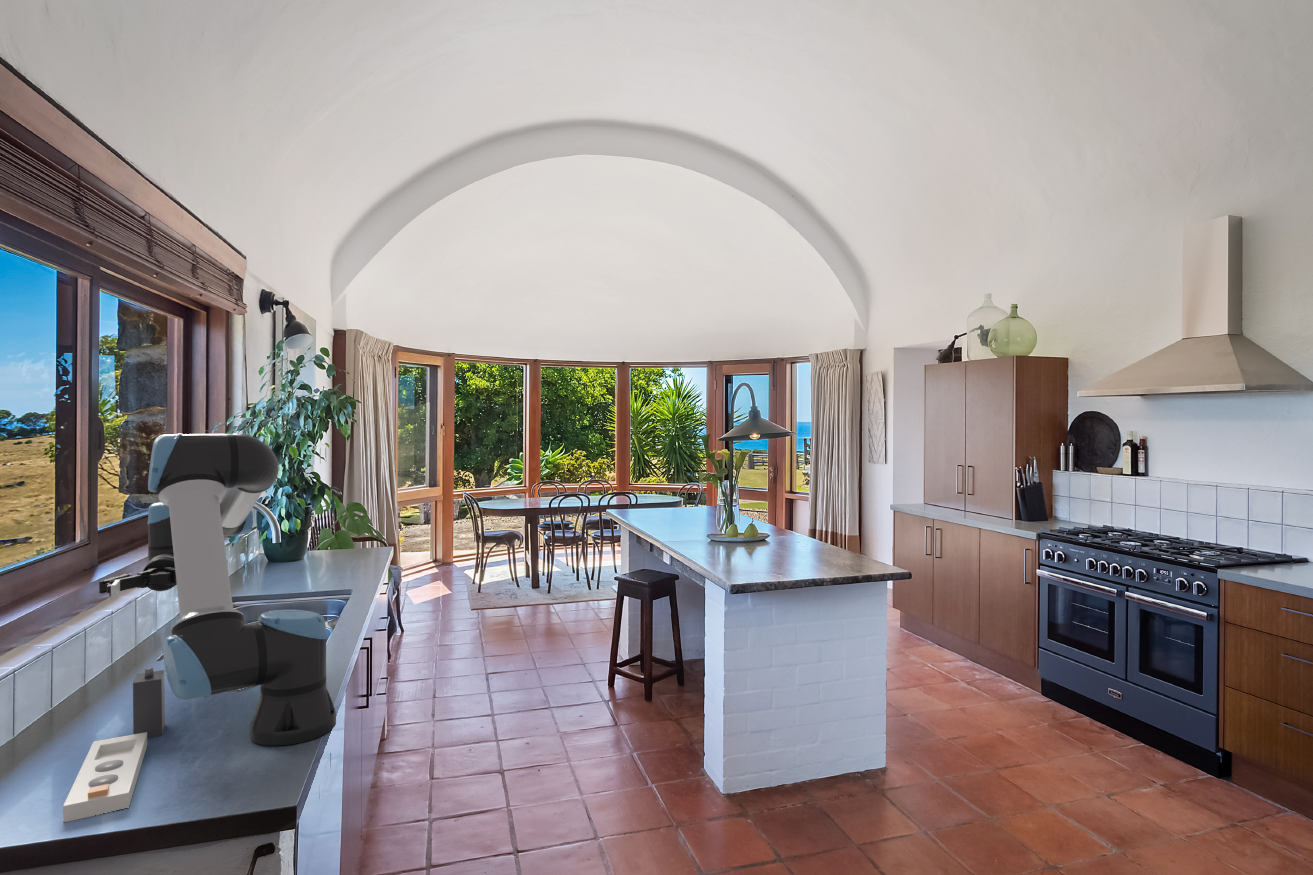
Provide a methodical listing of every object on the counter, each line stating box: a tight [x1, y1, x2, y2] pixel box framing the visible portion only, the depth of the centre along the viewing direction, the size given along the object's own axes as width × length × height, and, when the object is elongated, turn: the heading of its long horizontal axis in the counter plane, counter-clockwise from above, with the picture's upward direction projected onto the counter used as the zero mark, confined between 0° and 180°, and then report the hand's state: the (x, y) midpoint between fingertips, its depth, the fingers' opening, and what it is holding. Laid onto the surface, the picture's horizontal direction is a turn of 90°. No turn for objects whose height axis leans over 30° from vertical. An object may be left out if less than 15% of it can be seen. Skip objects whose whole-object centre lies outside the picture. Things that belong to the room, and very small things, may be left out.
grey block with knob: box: [132, 667, 166, 739], centre depth 141 cm, size 6×4×12 cm
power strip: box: [62, 732, 148, 823], centre depth 122 cm, size 26×8×3 cm, turn 30°
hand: (153, 588), depth 150 cm, fingers open, 13 cm apart
